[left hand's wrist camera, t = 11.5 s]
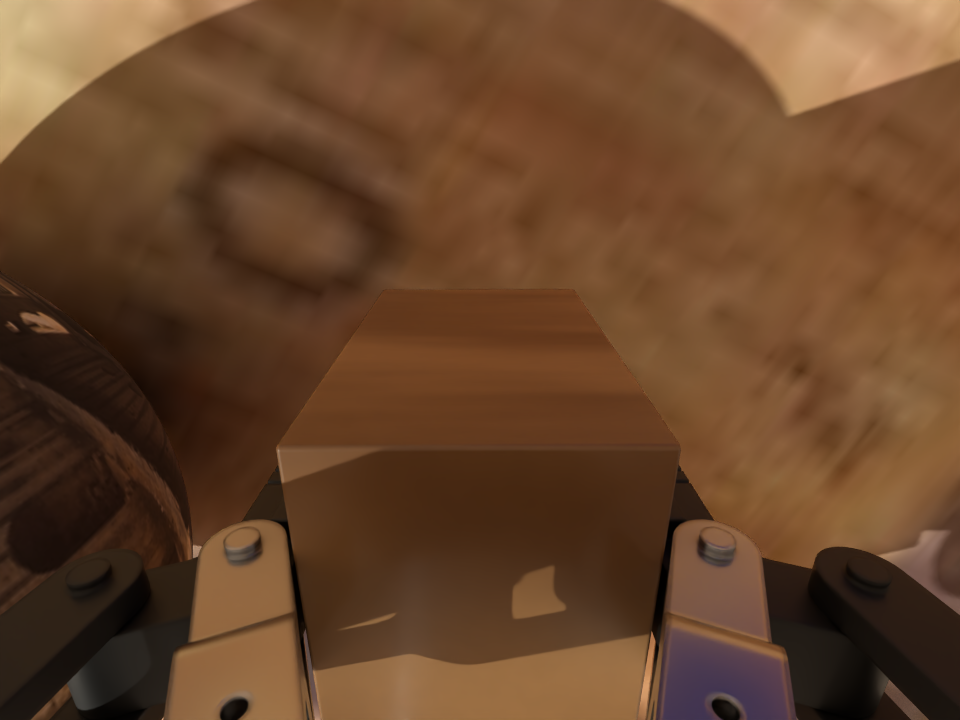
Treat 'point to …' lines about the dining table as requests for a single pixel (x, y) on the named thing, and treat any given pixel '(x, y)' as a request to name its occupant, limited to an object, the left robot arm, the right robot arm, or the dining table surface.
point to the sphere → (76, 455)
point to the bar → (478, 513)
